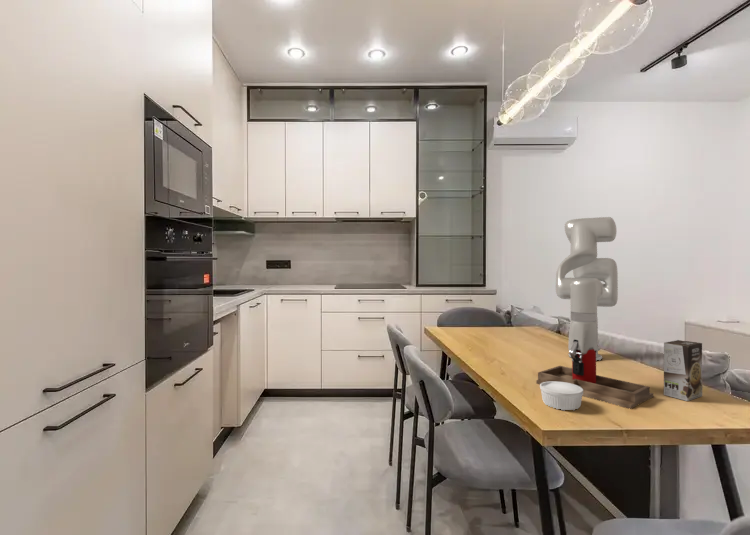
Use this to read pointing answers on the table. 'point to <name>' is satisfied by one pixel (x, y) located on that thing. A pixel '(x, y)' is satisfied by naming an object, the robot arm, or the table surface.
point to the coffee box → (683, 369)
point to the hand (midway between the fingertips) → (584, 371)
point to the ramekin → (561, 395)
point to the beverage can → (587, 367)
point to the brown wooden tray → (600, 387)
